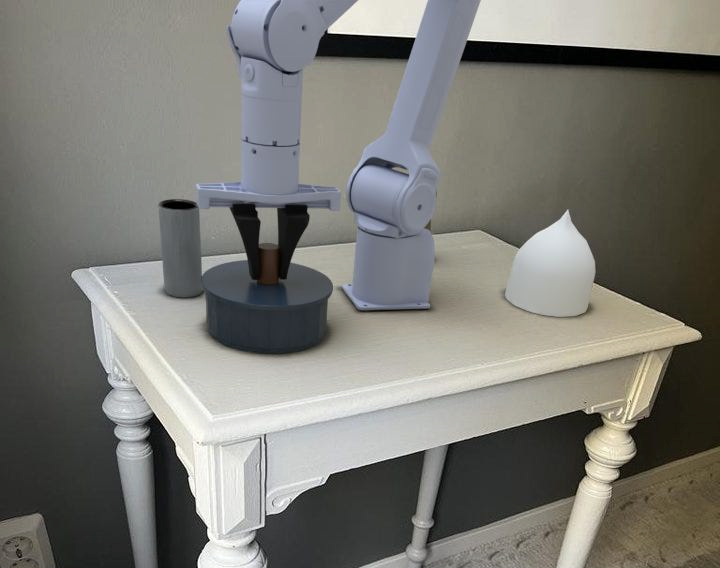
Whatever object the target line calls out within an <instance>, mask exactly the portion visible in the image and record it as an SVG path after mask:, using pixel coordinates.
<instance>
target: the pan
mask: <svg viewBox="0 0 720 568" xmlns="http://www.w3.org/2000/svg"><path fill="white" fill-rule="evenodd" d="M328 306H329V298H328V299H327V300H326V301H324V302H322V303H320V304H318V305H315V306H311V307H307V308H302V309H295V310H282V311H270V310H256V309H249V308H243V307H238V306H234V305H230V304H227V303H224V302H221V301H219V300H217V299H215V298H213V297H211V296H210V295H208V294H207V293H206V292H205V316H206V317H205V319H206V321H205V322H206V327H207V331H208V334H209V335H210V336H211V338H212V339H214V340H215V341H217V342H218V343H220V344H222V345H224V346H226V347H229V348H232V349H235V350H239V351H242V352H247V353H254V354H265V355H266V354H269V355H277V354H278V355H279V354H291V353H297V352H301V351H304V350H308V349H310V348H313V347H314V346H317V345H318V344H320V343H321V342H322V341H323V340H324V338H325V337H326V329H327V323H328V322H327V321H328V320H327V319H328Z"/></svg>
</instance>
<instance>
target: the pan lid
mask: <svg viewBox="0 0 720 568" xmlns="http://www.w3.org/2000/svg"><path fill="white" fill-rule="evenodd" d="M258 251H259V280H252V278H251V276H250V274H249V265H248V260H247V259H243V260H242V259H241V260H234V261H233V260H232V261H228V262H223V263H220V264H217V265H214V266H213V267H210V268H209V269H207V270H206V271H204V272H203V273H202V278H201V285H202V291H204V293H205V294H206V293H207V294H208V295H210V296H211V297H213V298H215V299H217V300H219V301H221V302H224V303H227V304H230V305H234V306H238V307H243V308H249V309H256V310H270V311H282V310H295V309H302V308H307V307H311V306H315V305H318V304H320V303H322V302H324V301H326V300H327V299H328V300H329V299H330V298H331V297H332V295H333V291H334V285H333V282H332V280H331V279H330V278H329V277H328V276H327V275H326V274H324V273H323V272H321V271H319V270H317V269H315V268H312V267H309V266H306V265H303V264H299V263H294V262H290V266H289V269H288V274H287V279H286V280H280V278H279V264H280V246H279V245H278V243H277V244H276V243H273V242H262V243H259V250H258Z"/></svg>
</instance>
